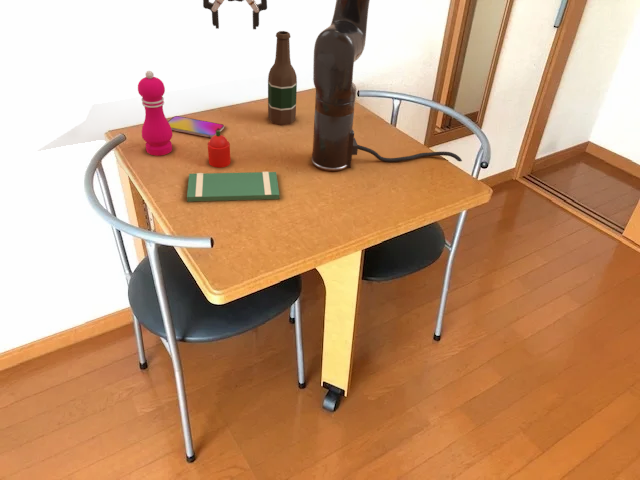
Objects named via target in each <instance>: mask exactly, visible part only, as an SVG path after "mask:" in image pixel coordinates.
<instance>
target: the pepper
mask: <svg viewBox="0 0 640 480" xmlns="http://www.w3.org/2000/svg"><path fill="white" fill-rule="evenodd" d="M207 156H208V164H209V165H210V166H211V167H212V168H219V169H220V168H226V167H228V166H230V164H231V163H232V162H231V161H232V160H231V144H230V141H229V140H228V139H227V137H226V136H224V135H223V134H221V132H220V131H219V130H217V131H216V135H214V136H213V137H212V138H211V137H210V139H209V141H208V142H207Z"/></svg>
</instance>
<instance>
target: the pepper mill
mask: <svg viewBox="0 0 640 480" xmlns="http://www.w3.org/2000/svg"><path fill="white" fill-rule="evenodd" d="M165 88H166V87H165V85H164V82H163V81H162V80H161V79H160V78H158V77H156V76H154V72H153V71H152V70H147V71H146V72H145V77H143V78H141V79H140V81H139V82H138V84H137V92H138V94H139V95H140V97H141V105H142V106H143V107H144V111H145V113H144V115H145V116H144V121H143V125H142V127H141V128H142V129H141V137H142V139H143V141H144V142H145V151H146V153H147V154H149V155H151V156H157V157H158V156H159V157H160V156H165V155H168V154H169V153H171V152H173V144H172V143H173V142H172V141H171V140H172V139H173V130H172V129H171V126H170V124H169V123H168V121H169V120H168V119H167V118H166V115H165V112H164V107H163V106H164V104H165V101H164V99H165V97H164V94H165V92H166V89H165Z"/></svg>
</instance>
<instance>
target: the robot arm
mask: <svg viewBox="0 0 640 480" xmlns="http://www.w3.org/2000/svg"><path fill="white" fill-rule="evenodd" d="M224 1H225V0H214V1H213V2H211V1H210V0H202V7H203V8H204V9H207V10H209V11H210V12H211V22H212V26H213V27H215V29H217V30H218V29H220V21H219V8H220V7H221V6H222V4H223V3H224ZM227 1H228V2H235V1H236V2H239V3H240V2H241V3H242V2H244V0H227ZM245 1H246V3H247V4H248V5H249V6H250V8H251V9H252V30H257V28H258V27H259V26H260V12H262V11H266V10H267V9H268V0H260V3H257V2H256V0H245ZM369 7H370V0H336V1H335V6H334V12H333V15H332V19H331V23H330V25H329V26H328V27H326V28H324V29H322V31H320V33H319V34H318V35H317V37H316V39H315V41H314V48H313V68H312V69H313V72H312V73H313V78H312V79H313V80H312V81H313V86H314V88H315V99H314V100H315V101H314V119H313V135H312V153H311V163H312V166H314V167H315V168H316V169H319V170H321V171H326V172H339V171H343V170H345V169H350V168H351V167H352V158H353V156H358V150H359V151H363V152H366V153H368V154H371V155H372V156H374V157H375V158H376V159H378V161H381V162H385V163H397V162H405V161H411V160H415V159H420V158H424V157H425V158H426V157H438V156H439V157H441V156H443V157H444V156H445V157H451V158H453V159H455V160H456V161H457V162H463V160H462V158H461V157H460V156H459V155H458V154H456V153H454V152H451V151H431V152H419V153H416V154H412V155H407V156H399V157H384V156H382V155H380V154H379V153H378V152H377V151H376V150H373V149H371V148H369V147H366V146H363V145H360V144H358V142H357V140H356V137H355V131H354V129H353V128H354V119H355V118H354V117H355V107H356V98H357V97H356V96H357V86H356V84H355V83H354V82H353V77H354V66H355V65H354V64H355V62H356V61H357V60H359V59H360V57H361V56H362V54H363V52H364V50H365V46H366V42H367V41H366V39H367V29H368V17H369Z"/></svg>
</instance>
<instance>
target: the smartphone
mask: <svg viewBox="0 0 640 480" xmlns="http://www.w3.org/2000/svg"><path fill="white" fill-rule="evenodd" d="M167 121H168V123H169V124H170V126H171V129H172V131H175V132H180V133H185V134H190V135H195V136H201V137H205V138H210V139H211V138H212V137H213V136H214V135H216V131H217V130H219V131H220V133H221V132H222V131H223V130H224V129H225V125H224V124H222V123H217V122H212V121H207V120H202V119H196V118H190V117H185V116H180V115H174V116H172V118H170V119H168V120H167Z"/></svg>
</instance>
